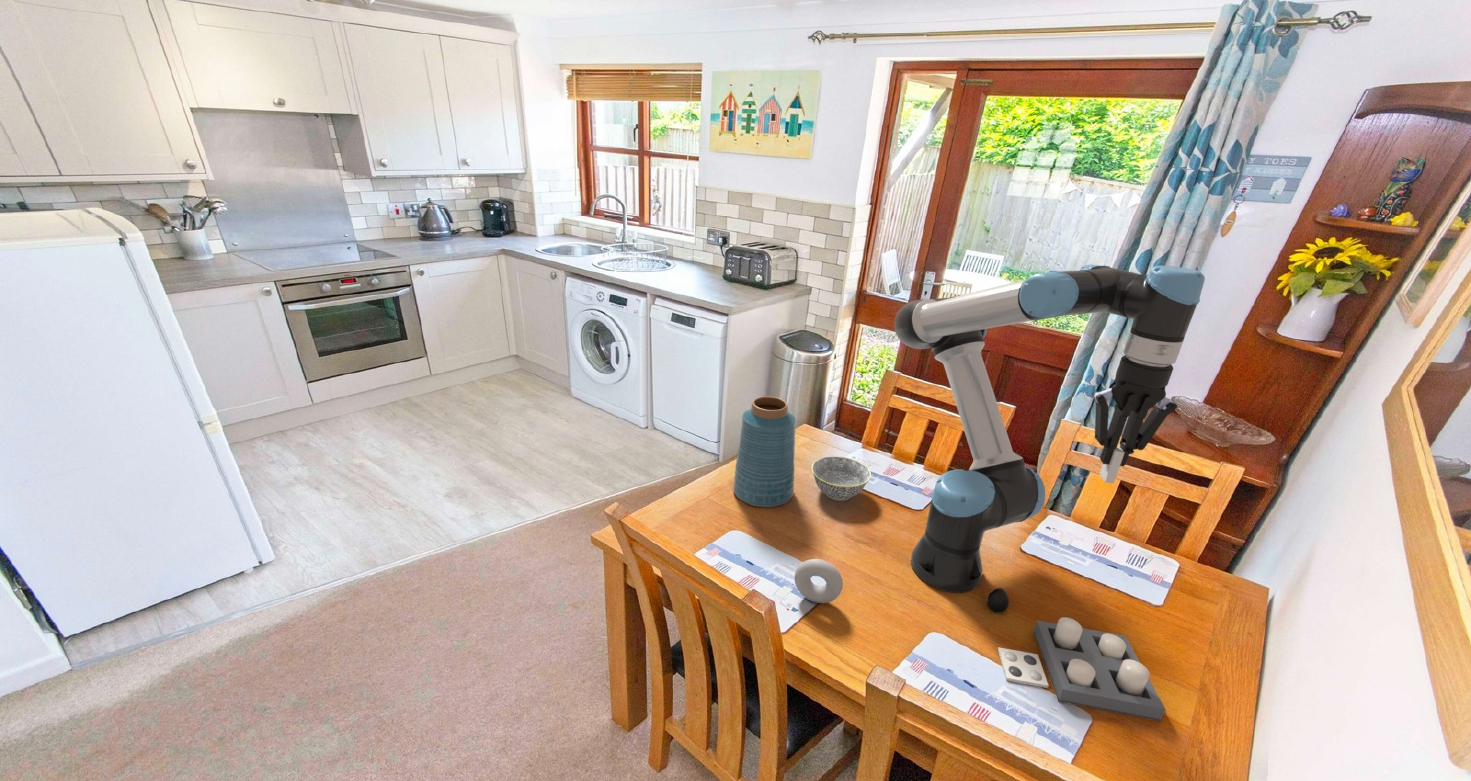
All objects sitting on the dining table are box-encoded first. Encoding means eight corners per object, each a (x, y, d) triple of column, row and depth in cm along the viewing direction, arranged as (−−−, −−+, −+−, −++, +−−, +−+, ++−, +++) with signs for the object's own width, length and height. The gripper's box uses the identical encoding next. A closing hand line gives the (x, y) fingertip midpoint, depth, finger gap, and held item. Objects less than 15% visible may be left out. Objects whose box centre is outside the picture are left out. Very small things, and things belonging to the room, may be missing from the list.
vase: (748, 515, 146) (754, 421, 135) (723, 482, 159) (727, 394, 149) (804, 503, 152) (814, 412, 141) (776, 472, 166) (783, 387, 155)
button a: (1067, 691, 101) (1074, 674, 99) (1060, 672, 104) (1066, 656, 103) (1092, 696, 100) (1099, 679, 98) (1084, 677, 104) (1090, 660, 102)
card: (1006, 679, 103) (1007, 677, 103) (997, 649, 109) (998, 646, 109) (1047, 687, 102) (1048, 685, 102) (1036, 656, 108) (1037, 653, 108)
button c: (1056, 647, 107) (1062, 631, 106) (1050, 631, 111) (1055, 615, 109) (1079, 651, 106) (1085, 635, 105) (1072, 635, 110) (1078, 619, 109)
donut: (841, 600, 119) (847, 562, 115) (838, 612, 116) (844, 573, 112) (794, 588, 122) (798, 550, 118) (790, 599, 119) (794, 560, 115)
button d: (1099, 663, 107) (1106, 647, 105) (1092, 647, 110) (1098, 631, 109) (1123, 668, 106) (1130, 652, 104) (1114, 651, 110) (1121, 635, 108)
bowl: (809, 475, 165) (811, 452, 162) (865, 481, 163) (868, 458, 160) (808, 506, 150) (811, 482, 147) (869, 514, 149) (873, 489, 146)
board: (1058, 701, 99) (1062, 688, 98) (1033, 631, 114) (1036, 620, 113) (1159, 721, 97) (1165, 708, 96) (1120, 647, 111) (1125, 635, 110)
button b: (1120, 692, 99) (1128, 675, 97) (1111, 673, 102) (1118, 657, 101) (1146, 697, 98) (1154, 680, 96) (1136, 678, 101) (1143, 661, 100)
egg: (1008, 617, 117) (1014, 598, 115) (987, 613, 118) (993, 594, 116) (1003, 602, 121) (1009, 584, 119) (983, 599, 122) (988, 581, 120)
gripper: (1115, 362, 95) (1075, 484, 104) (1202, 371, 93) (1154, 495, 102) (1098, 348, 102) (1062, 464, 111) (1179, 356, 100) (1136, 473, 109)
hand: (1106, 478), depth 106 cm, fingers closed
